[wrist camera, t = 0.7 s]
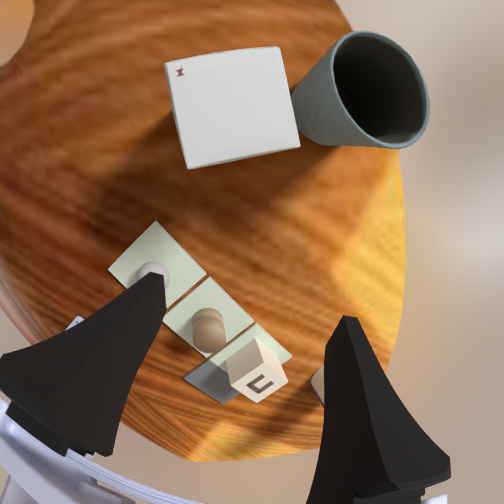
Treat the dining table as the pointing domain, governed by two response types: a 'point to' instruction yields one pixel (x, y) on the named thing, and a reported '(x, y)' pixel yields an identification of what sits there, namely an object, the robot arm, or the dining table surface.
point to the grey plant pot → (363, 95)
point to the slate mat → (212, 381)
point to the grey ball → (155, 268)
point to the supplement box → (231, 105)
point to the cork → (208, 331)
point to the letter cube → (255, 371)
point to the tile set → (191, 294)
